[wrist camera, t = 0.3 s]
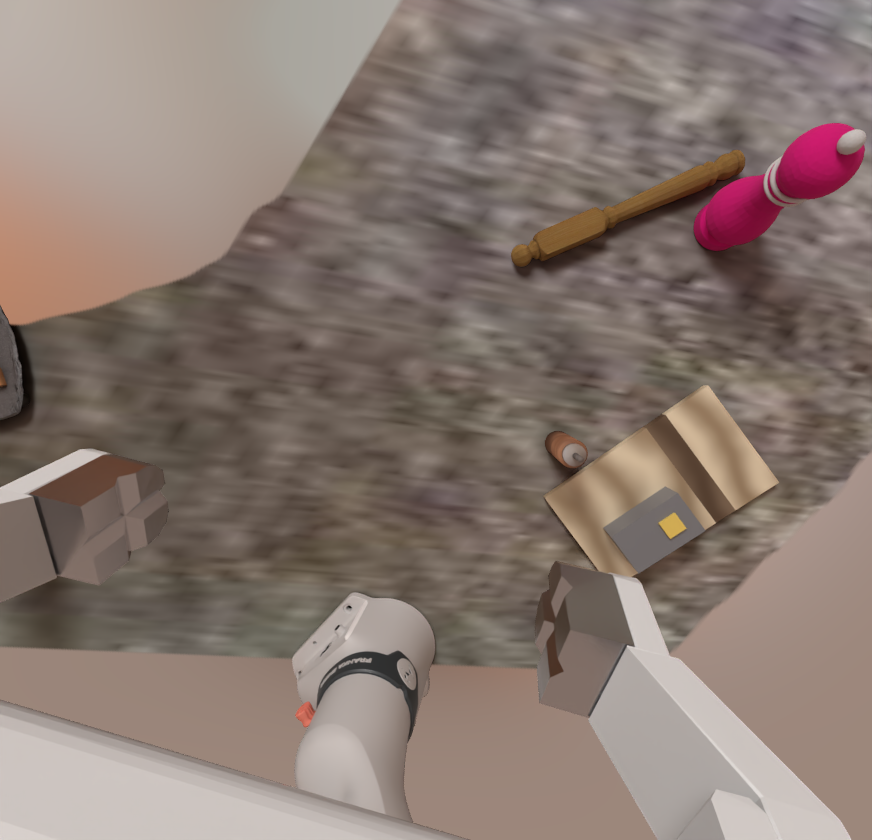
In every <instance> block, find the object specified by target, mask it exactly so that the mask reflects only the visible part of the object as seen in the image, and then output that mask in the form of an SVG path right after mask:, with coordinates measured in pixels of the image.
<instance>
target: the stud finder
mask: <svg viewBox="0 0 872 840" xmlns="http://www.w3.org/2000/svg"><path fill="white" fill-rule="evenodd" d="M603 529H604V530H605V531H606V533H607V534H608V535H609V537H610V538H611V539H612V541H613V542H614V543H615V545H616V546H617V547H618V549H619V550H620V551H621V553H622V554H623V555H624V557H625V558H626V559H627V561H628V562H629V563H630V564H631V566H632V567H633V568H634V569H635V570H636V571H637V572H638V574H639V573H640V572H642V571H644V570H645V569H647V568H648V567H650V566H651V565H653V564H654V563H656V562H658V561H659V560H661V559H662V558H664V557H665V556H667V555H668V554H670V553H672V552H673V551H675V550H676V549H678V548H679V547H681V546H682V545H684V544H686V543H687V542H689V541H690V540H692V539H693V538H695V537H697V536H698V535H700V534H701V533H703V532H704V531H706V530H705V529H704V528H703V526H702V525H701V524H700V522H699V521H698V520H697V518H696V517H695V516H694V514H693V513H692V511H691V510H690V509H689V507H688V506H687V505H686V503H685V502H684V501H683V499H682V498H681V497H680V495H679V494H678V493H677V492H675V491H673V490H671V489H669V488H667V487H666V486H665V487H664V488H662V489H661V490H659V491H658V492H656V493H655V494H653V495H652V496H650V497H649V498H647V499H646V500H644V501H643V502H641V503H640V504H638V505H637V506H635V507H634V508H632V509H631V510H629V511H627V512H626V513H624V514H623V515H621V516H620V517H618V518H617V519H615V520H614V521H612V522H611V523H609V524H608V525H606V526H605V527H603Z"/></svg>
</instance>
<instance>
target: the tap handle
mask: <svg viewBox="0 0 872 840" xmlns="http://www.w3.org/2000/svg"><path fill="white" fill-rule="evenodd" d="M744 166H745V157H744V154H743V153H742V152H741V151H740V150H733V151H732V152H730V153H729V154H724V155H722V156H720V157H719V158H718V159H717V160H716V161H715V162H714V163H713V162H706V163H705V164H704V165H703V166H696V167H694V168H692V169H690V170H688V171H686V172H684V173H682V174H680V175H678V176H676V177H674V178H672V179H669V180H667V181H665V182H663V183H661V184H659V185H657V186H655V187H653V188H651V189H649V190H647V191H645V192H642V193H640V194H638V195H636V196H634V197H632V198H630V199H628V200H626V201H624V202H622V203H620V204H618V205H615V206H613V207H610V206H607V207H605V208H604V210H603V211H602V210H599V209H598V208H596V207H594V208H592V209H590V210H588V211H585V212H583V213H581V214H578V215H576V216H574V217H572V218H569V219H567V220H565V221H563V222H560V223H558V224H556V225H553V226H551V227H549V228H547V229H544V230H542V231H540V232H538V233H537V234H536V235H535V236H534V238H533V241H531V242H530V244H529V245H528V246H527V245H523V244H522V245H518V246H516V247H515V248H514V249H513V250H512V253H511V258H512V261H513V263H514V264H515V265H516V266H520V267H523V266H526V265H528V264H529V263H530V261H531V258H535V259H540V260H541V261H544V260H547V259H549V258H551V257H554V256H556V255H558V254H561V253H563V252H565V251H568V250H570V249H572V248H575V247H577V246H579V245H582V244H584V243H586V242H588V241H591V240H593V239H595V238H598V237H600V236H601V235H602V234H603V233H604V232H605V231H606V230H607V228H613V227H614V226H615V224H616V223H619V222H621V221H624V220H626V219H629V218H632V217H634V216H637V215H639V214H642V213H644V212H647V211H650V210H652V209H655V208H657V207H660V206H662V205H665V204H667V203H670V202H673V201H675V200H678V199H680V198H683V197H685V196H688V195H691V194H693V193H696V192H698V191H701V190H703V189H704V188H705V187H707V186H712V185H714V184H715V183H716V180H727V179H729V178H730V177H732V176H733V175H738V174H739V173H740V172H742V170H743V168H744ZM534 240H536V241H534ZM536 242H537V243H536ZM537 244H538V245H537ZM538 246H539V247H538ZM539 249H540V251H539ZM540 255H541V257H540ZM539 257H540V258H539Z"/></svg>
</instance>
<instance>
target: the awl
mask: <svg viewBox="0 0 872 840" xmlns="http://www.w3.org/2000/svg"><path fill="white" fill-rule="evenodd" d="M545 446H546V449H547V450H548V451H549V452H550V453H551V454H552V455H553V456H554V457H555V458H556V459H557V460H559V461H560V462H561V463H562V464H563V465H564V466H566V467H569V468H577V467H579V466H581V465H583V464H584V462H585V461H586V459H587V455H588V452H587V448H586V446H585V445H584V444H583V443H582V442H580V441H578V440H576V439H575V438H573V437H571V436H569V435H567V434H565V433H564V432H561V431H554V432H552V433H550V434H549V435H548V436H547V438H546V440H545Z"/></svg>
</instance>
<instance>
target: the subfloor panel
mask: <svg viewBox="0 0 872 840" xmlns="http://www.w3.org/2000/svg"><path fill="white" fill-rule="evenodd" d="M777 483H779V482H778V480H777V479H776V478H775V476H774V475H773V474H772V472H771V471H770V469H769V468H768V467H767V465H766V464H765V463H764V461H763V460H762V458H761V457H760V456H759V454H758V453H757V452H756V450H755V449H754V448H753V446H752V445H751V443H750V442H749V441H748V439H747V438H746V437H745V435H744V434H743V433H742V431H741V430H740V428H739V427H738V426H737V424H736V423H735V422H734V420H733V419H732V417H731V416H730V415H729V413H728V412H727V411H726V409H725V408H724V407H723V405H722V404H721V402H720V401H719V400H718V398H717V397H716V396H715V394H714V393H713V392H712V390H711V389H710V387H709V386H702V387H700V388H699V389H697V390H696V391H695V392H693V393H692V394H690V395H689V396H687V397H686V398H684V399H683V400H681V401H680V402H679V403H677V404H676V405H674V406H673V407H671V408H670V409H668V410H667V411H666V412H664V413H663V414H661V415H660V416H658V417H657V418H655V419H654V420H653V421H651V422H650V423H648V424H647V425H645V426H644V427H642V428H641V429H639V430H638V431H637V432H635V433H634V434H632V435H631V436H629V437H628V438H626V439H625V440H624V441H622V442H621V443H619V444H618V445H616V446H615V447H613V448H612V449H611V450H609V451H608V452H606V453H605V454H603V455H602V456H600V457H599V458H597V459H596V460H595V461H593V462H592V463H590V464H589V465H587V466H586V467H584V468H583V469H582V470H580V471H579V472H577V473H576V474H574V475H573V476H571V477H570V478H569V479H567V480H566V481H564V482H563V483H561V484H560V485H558V486H557V487H555V488H554V489H553V490H551V491H550V492H548V493H547V494H545V495H544V498H545V499H546V501H547V502H548V503H549V505H550V506H551V507H552V509H553V510H554V511H555V513H556V514H557V515H558V517H559V518H560V519H561V521H562V522H563V523H564V525H565V526H566V527H567V529H568V530H569V531H570V533H571V534H572V536H573V537H574V538H575V540H576V541H577V542H578V544H579V545H580V546H581V548H582V549H583V550H584V552H585V553H586V554H587V556H588V557H589V558H590V560H591V561H592V562H593V564H594V565H595V566H596V568H597V569H598V570H599V571H602V572H606V573H614V574H619V575H623V576H628V577H633V576H634V575H636V574H637V573H638V572H637V571H636V570H635V569H634V568H633V567H632V566H631V564H630V563H629V562H628V561H627V559H626V558H625V557H624V555H623V554H622V553H621V551H620V550H619V549H618V547H617V546H616V545H615V543H614V542H613V541H612V539H611V538H610V537H609V535H608V534H607V533H606V531H605V530H604V529H603V527H605V526H606V525H608V524H609V523H611V522H612V521H614V520H615V519H617V518H618V517H620V516H621V515H623V514H624V513H626V512H627V511H629V510H631V509H632V508H634V507H635V506H637V505H638V504H640V503H641V502H643V501H644V500H646V499H647V498H649V497H650V496H652V495H653V494H655V493H656V492H658V491H659V490H661V489H662V488H664V487H665V486H666V487H667V488H669V489H671V490H673V491H675V492H677V493H678V494H679V495H680V497H681V498H682V499H683V501H684V502H685V503H686V505H687V506H688V507H689V509H690V510H691V511H692V513H693V514H694V516H695V517H696V518H697V520H698V521H699V522H700V524H701V525H702V526H703V528H704V529H705V530H706V529H707V528H709V527H710V526H712V525H714V524H715V523H717V522H718V521H720V520H721V519H723V518H725V517H726V516H728V515H729V514H731V513H732V512H734V511H735V510H737V509H739V508H740V507H742V506H743V505H745V504H746V503H748V502H749V501H751V500H753V499H754V498H756V497H757V496H759V495H760V494H762V493H763V492H765V491H767V490H768V489H770V488H771V487H773V486H774V485H776V484H777Z"/></svg>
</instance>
